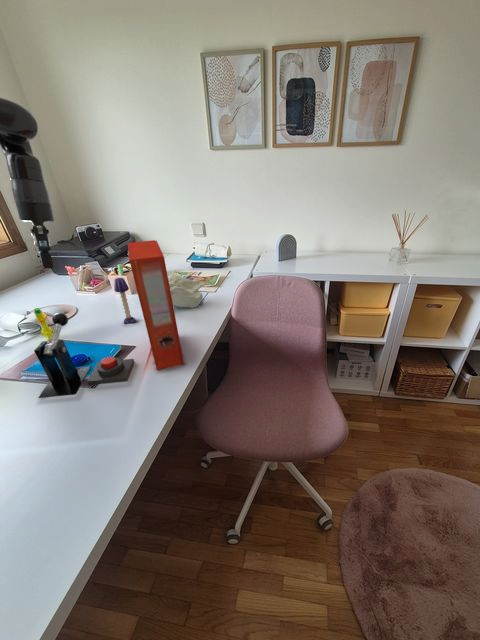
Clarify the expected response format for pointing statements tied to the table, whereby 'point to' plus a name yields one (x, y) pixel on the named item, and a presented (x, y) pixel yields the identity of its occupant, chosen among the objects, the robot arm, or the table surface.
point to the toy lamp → (124, 299)
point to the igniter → (108, 362)
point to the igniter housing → (111, 372)
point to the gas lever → (55, 333)
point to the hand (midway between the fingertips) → (47, 266)
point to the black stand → (60, 371)
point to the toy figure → (43, 323)
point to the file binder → (156, 302)
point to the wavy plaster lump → (185, 291)
